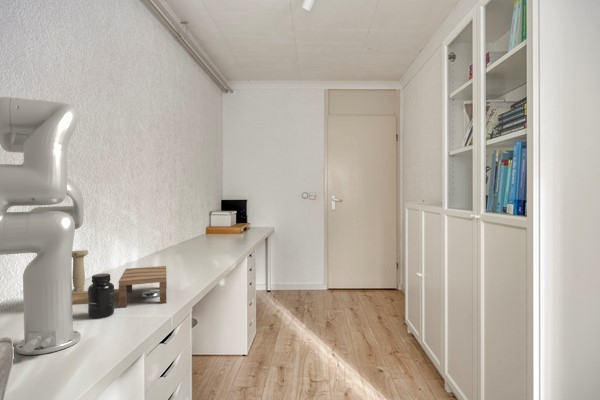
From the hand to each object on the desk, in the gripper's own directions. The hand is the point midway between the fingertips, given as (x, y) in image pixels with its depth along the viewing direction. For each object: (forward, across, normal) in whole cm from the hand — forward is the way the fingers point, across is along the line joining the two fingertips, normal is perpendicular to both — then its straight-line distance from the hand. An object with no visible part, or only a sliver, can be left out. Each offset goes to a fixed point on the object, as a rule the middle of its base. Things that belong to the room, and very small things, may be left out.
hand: (53, 297), depth 120 cm
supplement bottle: (+3, -18, -17) cm, 24 cm away
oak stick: (+3, 0, -9) cm, 10 cm away
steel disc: (+3, 0, -30) cm, 30 cm away
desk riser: (+3, 0, -28) cm, 28 cm away
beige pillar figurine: (+3, +18, -4) cm, 19 cm away
